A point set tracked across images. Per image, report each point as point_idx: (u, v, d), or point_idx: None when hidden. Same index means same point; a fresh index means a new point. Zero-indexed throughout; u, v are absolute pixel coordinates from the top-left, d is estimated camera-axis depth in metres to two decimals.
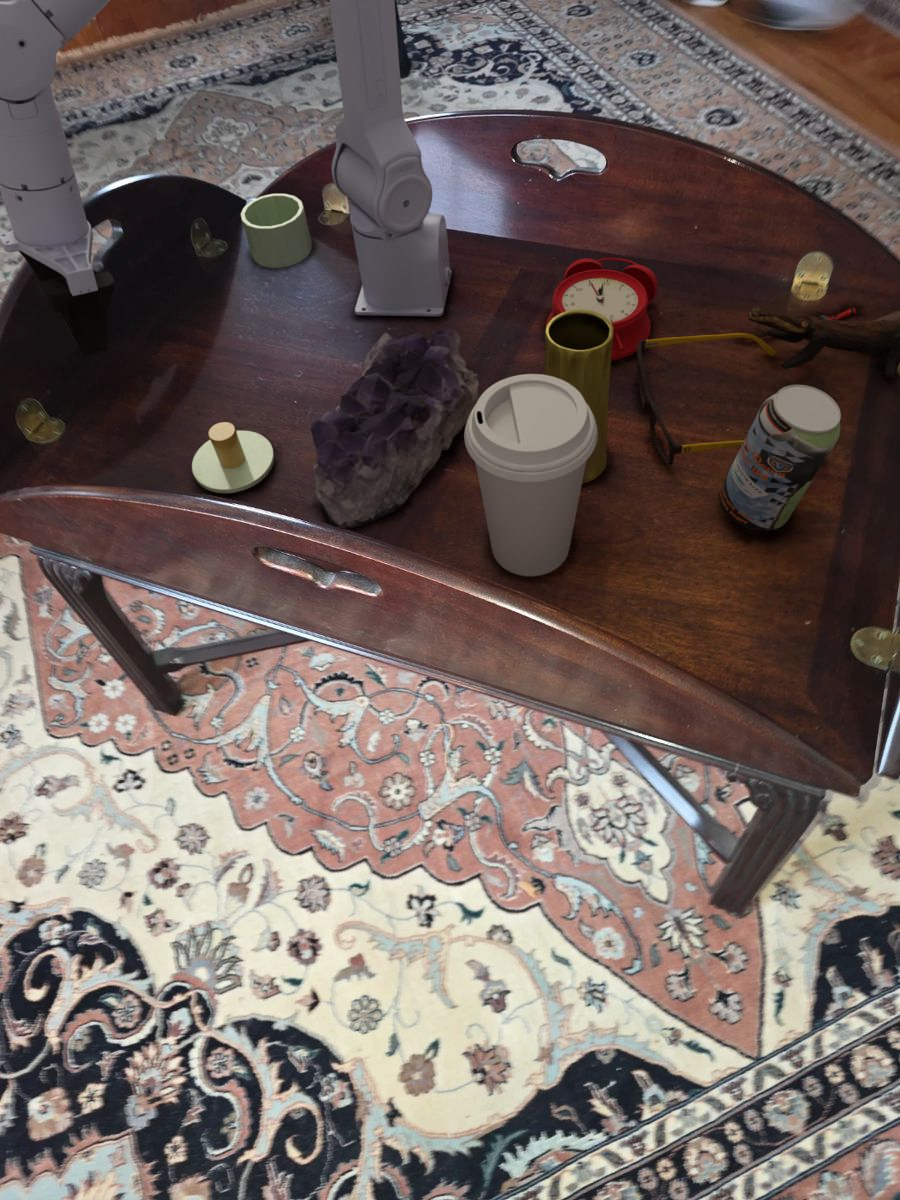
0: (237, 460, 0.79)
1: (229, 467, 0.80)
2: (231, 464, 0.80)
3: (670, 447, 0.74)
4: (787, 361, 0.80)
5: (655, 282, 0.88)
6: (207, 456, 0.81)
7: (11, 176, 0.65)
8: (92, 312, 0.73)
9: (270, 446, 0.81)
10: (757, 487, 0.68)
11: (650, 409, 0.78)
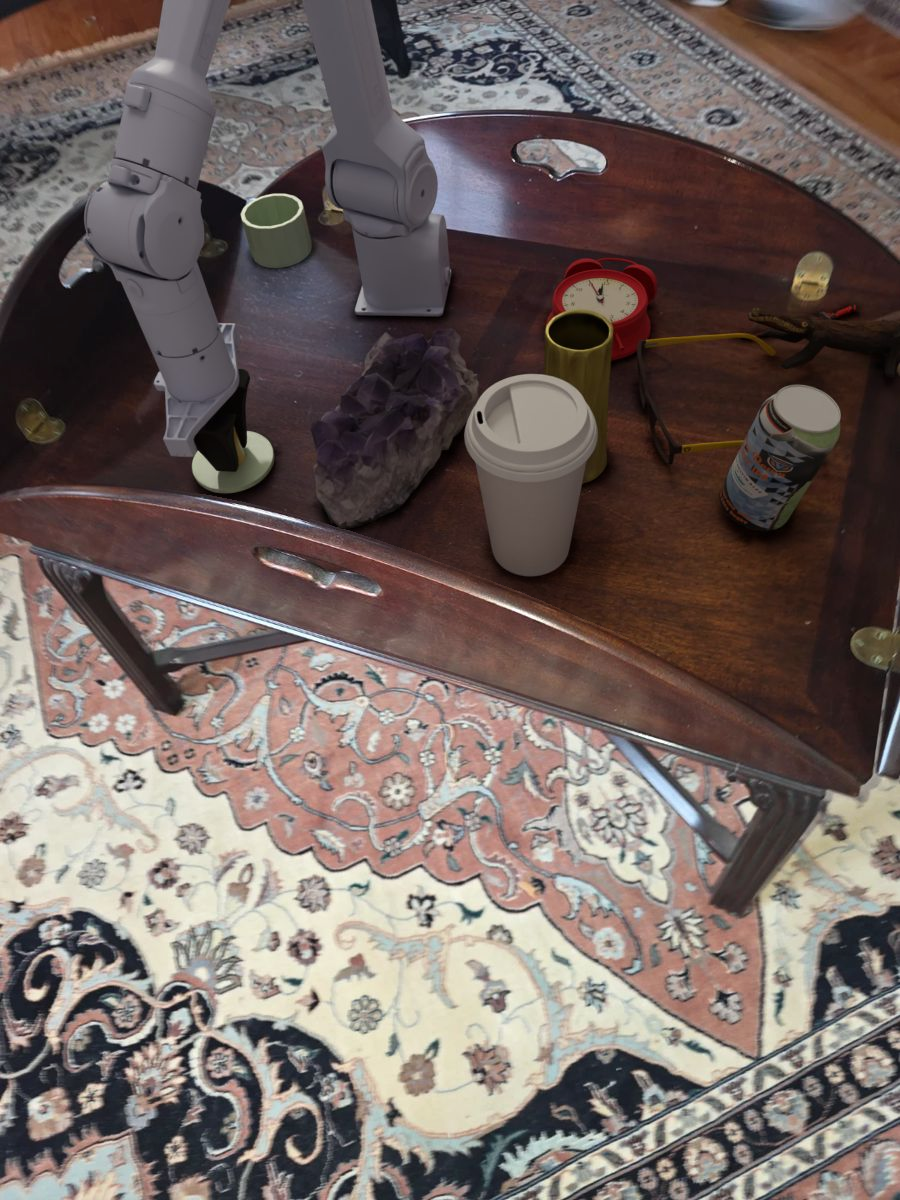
0: None
1: None
2: None
3: (670, 447, 0.74)
4: (787, 361, 0.80)
5: (655, 282, 0.88)
6: None
7: (182, 346, 0.67)
8: (220, 441, 0.76)
9: (270, 446, 0.81)
10: (757, 487, 0.68)
11: (650, 409, 0.78)
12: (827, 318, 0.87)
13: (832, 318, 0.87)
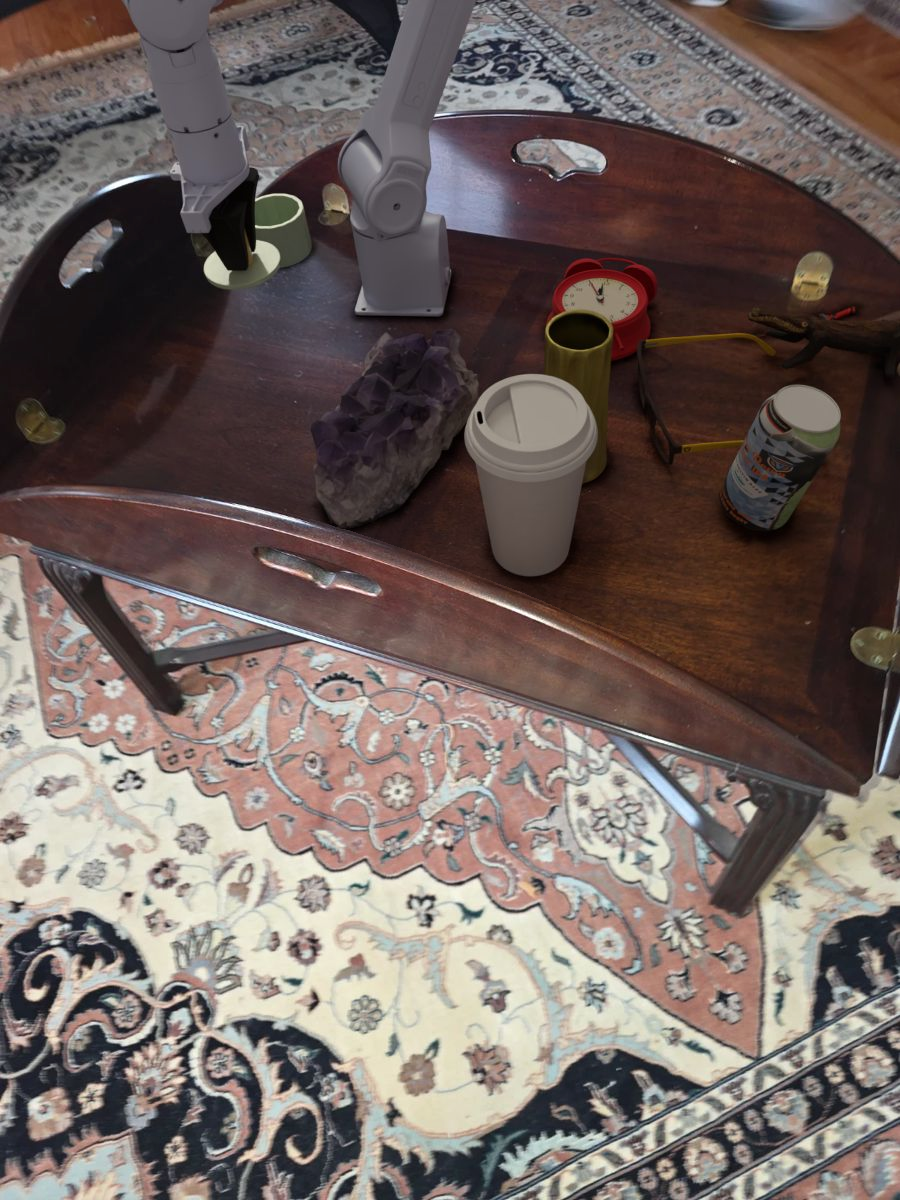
0: None
1: None
2: None
3: (670, 447, 0.74)
4: (787, 361, 0.80)
5: (655, 282, 0.88)
6: (218, 260, 0.86)
7: (175, 120, 0.72)
8: (231, 234, 0.81)
9: (277, 251, 0.86)
10: (757, 487, 0.68)
11: (650, 409, 0.78)
12: None
13: None
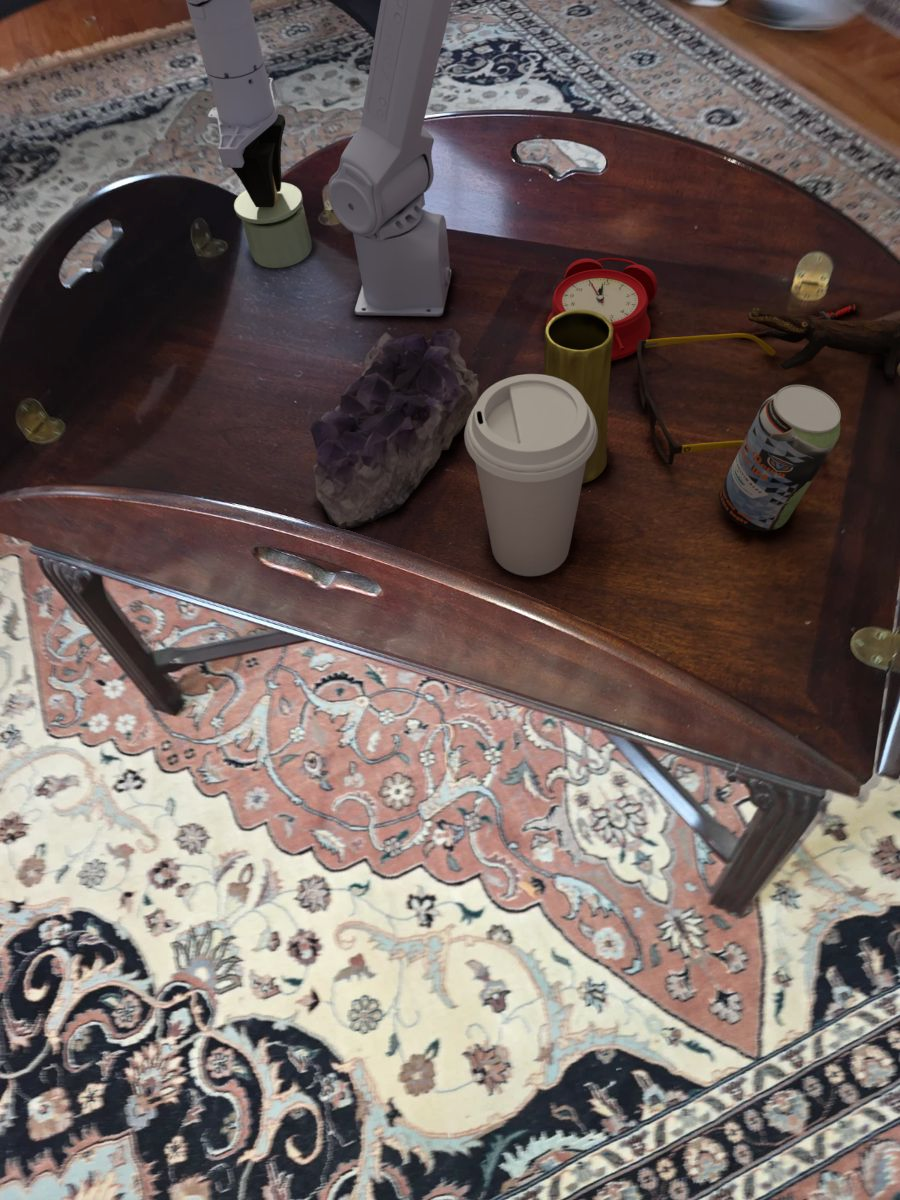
0: None
1: None
2: None
3: (670, 447, 0.74)
4: (787, 361, 0.80)
5: (655, 282, 0.88)
6: (247, 199, 0.97)
7: None
8: (260, 173, 0.92)
9: (299, 191, 0.97)
10: (757, 487, 0.68)
11: (650, 409, 0.78)
12: (826, 317, 0.87)
13: (831, 318, 0.87)
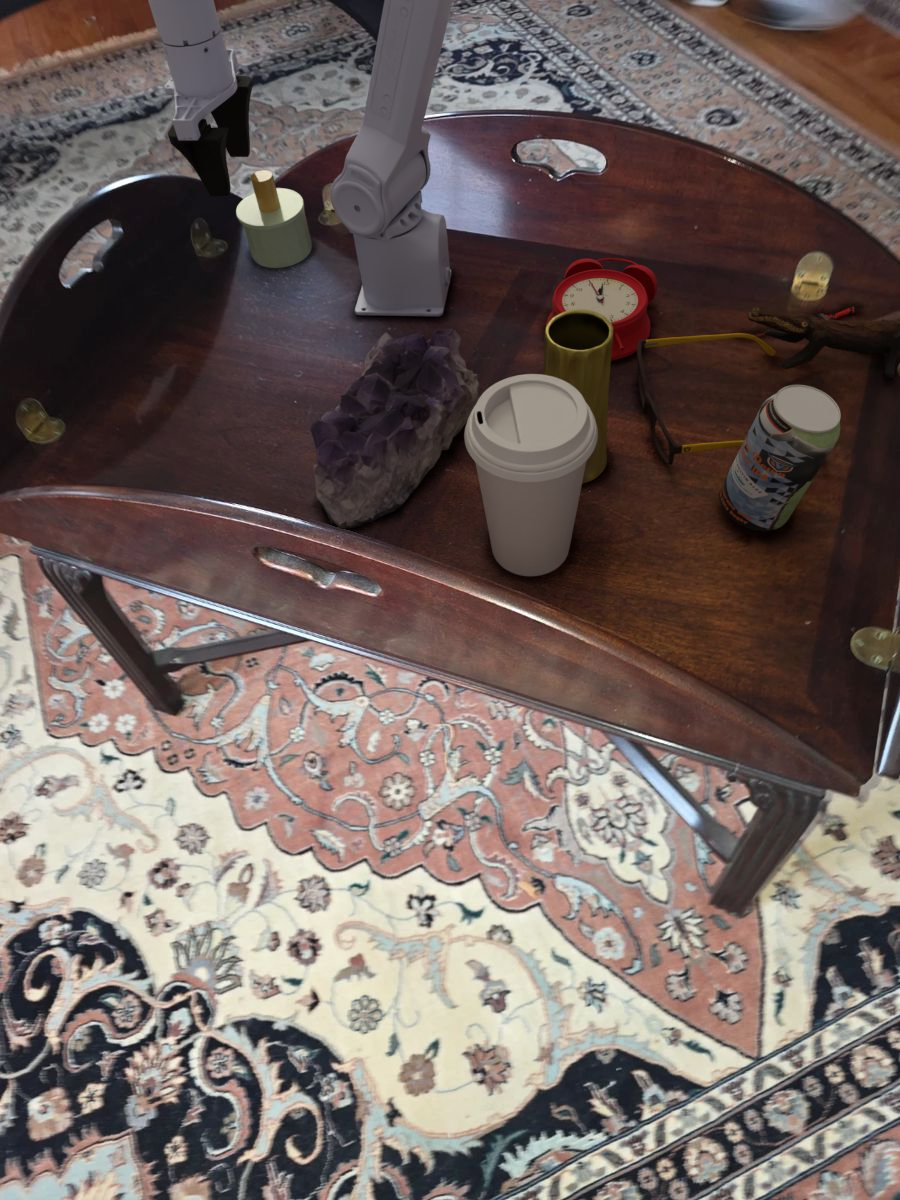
0: (274, 204, 0.96)
1: (267, 211, 0.96)
2: (269, 208, 0.96)
3: (670, 447, 0.74)
4: (787, 361, 0.80)
5: (655, 282, 0.88)
6: (248, 205, 0.98)
7: (157, 27, 0.81)
8: (213, 160, 0.87)
9: (300, 197, 0.98)
10: (757, 487, 0.68)
11: (650, 409, 0.78)
12: None
13: None
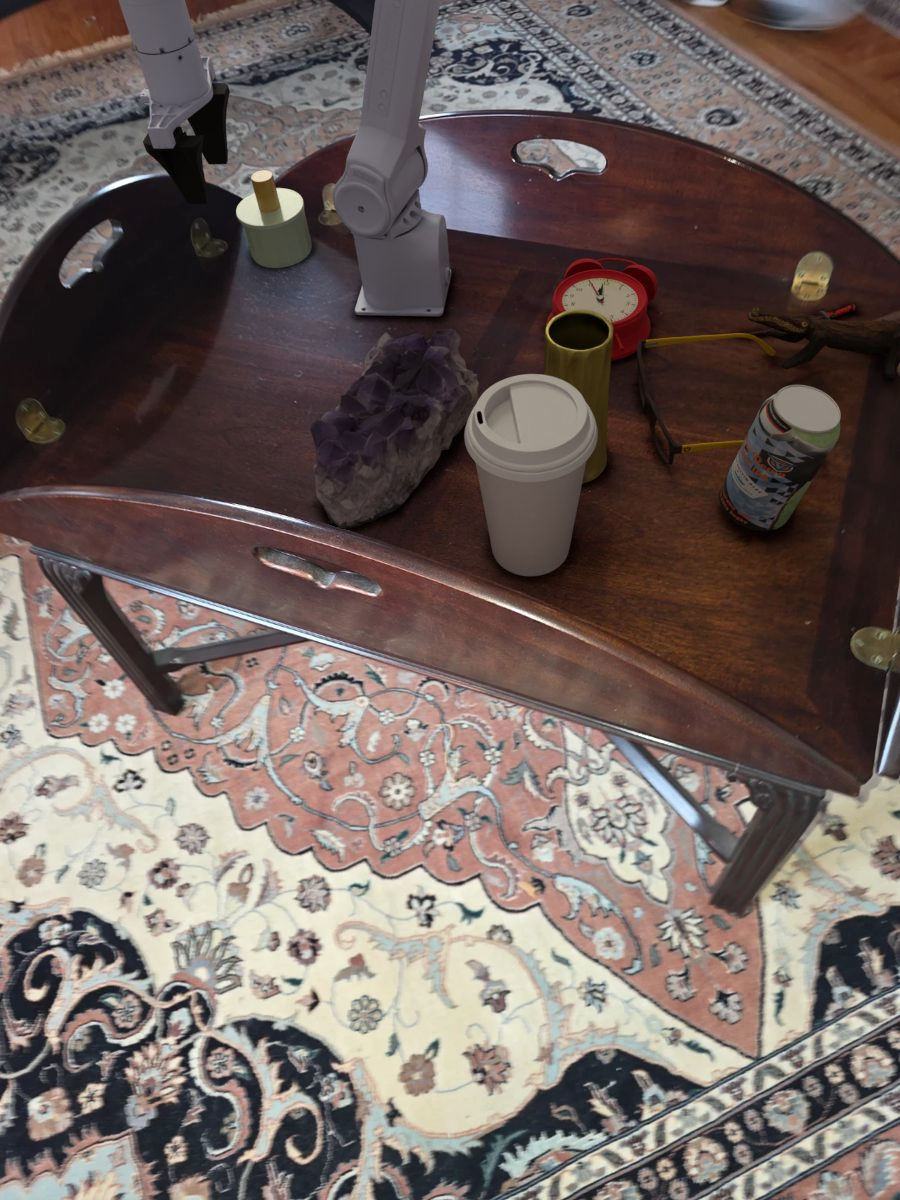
0: (274, 204, 0.96)
1: (267, 211, 0.96)
2: (269, 208, 0.96)
3: (670, 447, 0.74)
4: (787, 361, 0.80)
5: (655, 282, 0.88)
6: (248, 205, 0.98)
7: (131, 36, 0.80)
8: (190, 167, 0.87)
9: (300, 197, 0.98)
10: (757, 487, 0.68)
11: (650, 409, 0.78)
12: (826, 317, 0.87)
13: (831, 317, 0.87)
